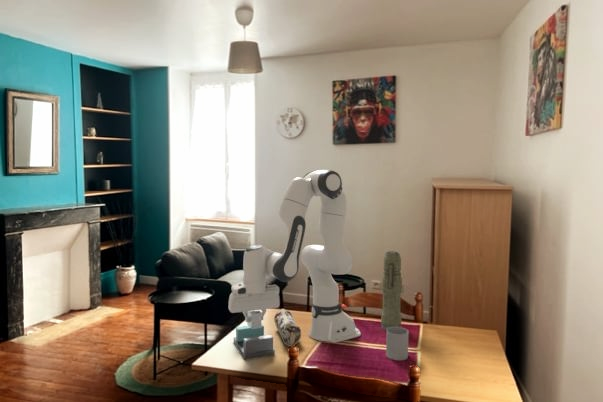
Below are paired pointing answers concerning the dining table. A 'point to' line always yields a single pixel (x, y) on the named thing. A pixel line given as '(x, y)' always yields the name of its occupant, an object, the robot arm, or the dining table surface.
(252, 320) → the steel block
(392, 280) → the grey-green stone column
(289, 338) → the pencil case
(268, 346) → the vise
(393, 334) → the cup
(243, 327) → the bar
